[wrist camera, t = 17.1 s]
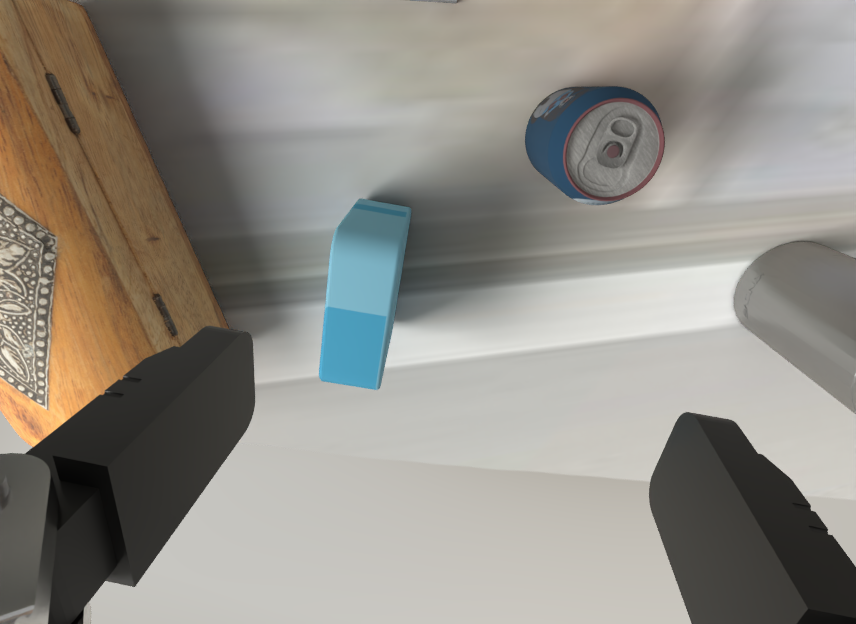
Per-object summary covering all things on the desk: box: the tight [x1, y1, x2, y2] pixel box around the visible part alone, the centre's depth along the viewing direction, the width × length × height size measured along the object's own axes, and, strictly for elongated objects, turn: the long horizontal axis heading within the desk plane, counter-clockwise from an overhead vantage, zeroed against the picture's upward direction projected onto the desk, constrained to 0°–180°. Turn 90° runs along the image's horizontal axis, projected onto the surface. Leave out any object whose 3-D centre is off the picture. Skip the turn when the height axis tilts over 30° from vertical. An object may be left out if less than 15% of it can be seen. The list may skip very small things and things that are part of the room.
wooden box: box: [0, 0, 229, 447], centre depth 37 cm, size 30×16×14 cm, turn 12°
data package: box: [319, 199, 411, 390], centre depth 39 cm, size 12×4×12 cm, turn 170°
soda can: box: [525, 86, 665, 205], centre depth 33 cm, size 7×7×12 cm
